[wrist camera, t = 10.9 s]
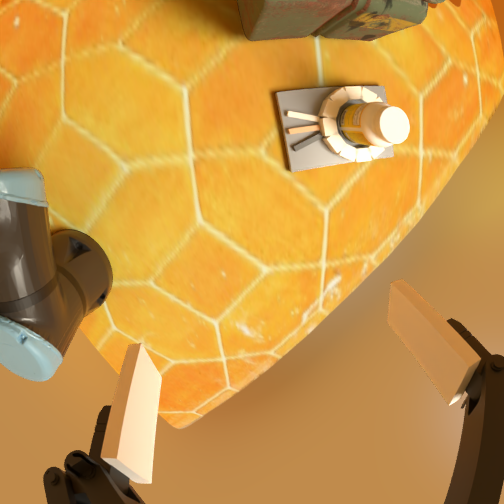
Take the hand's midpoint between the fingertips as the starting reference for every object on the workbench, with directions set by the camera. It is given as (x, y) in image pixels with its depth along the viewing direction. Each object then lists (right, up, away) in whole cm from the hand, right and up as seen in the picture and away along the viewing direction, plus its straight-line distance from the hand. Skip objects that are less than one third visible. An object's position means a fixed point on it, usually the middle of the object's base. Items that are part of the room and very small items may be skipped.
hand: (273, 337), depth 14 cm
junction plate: (+12, +24, +25) cm, 36 cm away
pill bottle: (+14, +24, +24) cm, 37 cm away
